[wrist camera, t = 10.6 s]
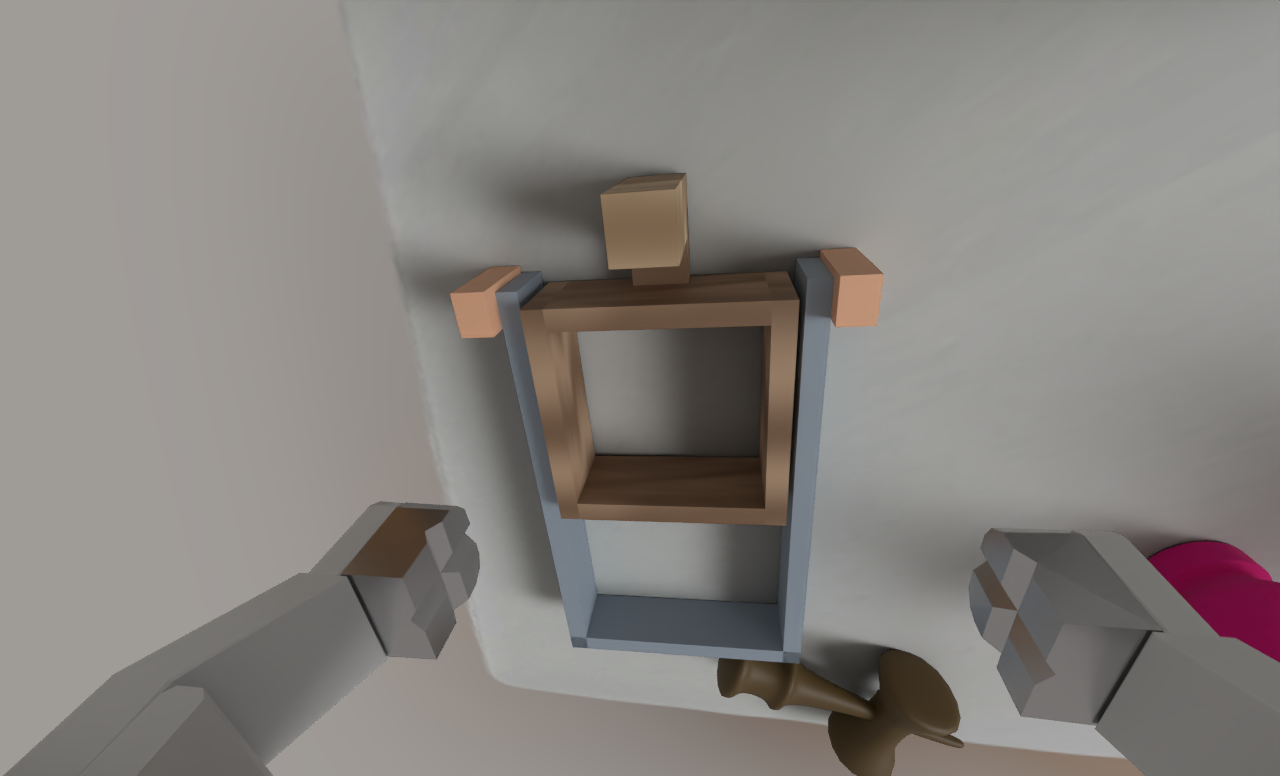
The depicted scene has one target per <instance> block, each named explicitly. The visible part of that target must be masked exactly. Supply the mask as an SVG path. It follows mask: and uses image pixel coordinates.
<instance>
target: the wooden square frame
mask: <svg viewBox="0 0 1280 776" xmlns="http://www.w3.org/2000/svg"><path fill="white" fill-rule="evenodd" d="M600 197H601V206H602V215H603V224H604V233H605V241H606V250H607V259H608V268H609V270H611V269H632V279H611V280H590V281H568V282H549V283H548V284H547V285H546V286H545V287H544V288H543V289H542V290H540V291H539V292H538V293H537V294H536V295H535V296H534V297H533V298H532V299H531V300H530V301H529V302H528V303H527V304H526V305H525V306H524V307H522V308H521V309H520V310H519V311H520V316H521V321H522V326H523V331H524V336H525V341H526V346H527V351H528V356H529V361H530V366H531V371H532V376H533V381H534V386H535V391H536V396H537V401H538V406H539V411H540V416H541V421H542V426H543V431H544V436H545V441H546V446H547V451H548V456H549V461H550V466H551V471H552V476H553V480H554V485H555V490H556V495H557V500H558V505H559V510H560V515H561V519H586V520H619V521H651V522H683V523H715V524H747V525H779V526H786V519H787V502H788V486H789V469H790V452H791V435H792V418H793V401H794V385H795V368H796V351H797V334H798V317H799V297H798V295H797V293H796V291H795V288H794V286H793V284H792V282H791V279H790V277H789V275H788V273H787V271H780V272H759V273H738V274H716V275H695V276H690V257H689V233H688V208H687V183H686V173H679V174H666V175H654V176H641V177H629V178H627V179H625V180H623V181H622V182H620V183H618V184H617V185H615V186H614V187H612V188H610V189H609V190H607V191H605V192H604V193H602V194H601V195H600ZM740 326H763V332H762V370H761V408H760V447H759V458H756V457H659V456H595V451H594V444H593V438H592V431H591V425H590V418H589V411H588V405H587V398H586V391H585V385H584V378H583V371H582V365H581V358H580V352H579V345H578V338H577V331H610V330H643V329H675V328H708V327H740Z"/></svg>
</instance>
